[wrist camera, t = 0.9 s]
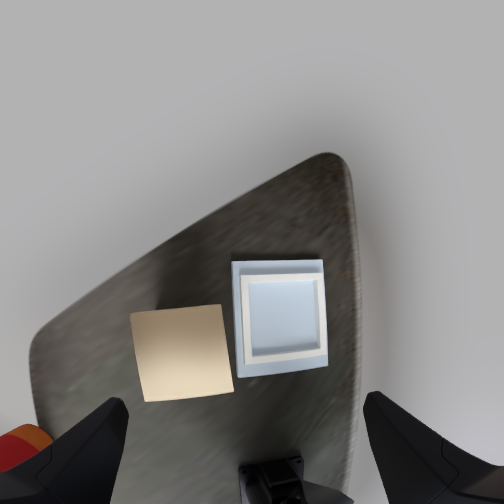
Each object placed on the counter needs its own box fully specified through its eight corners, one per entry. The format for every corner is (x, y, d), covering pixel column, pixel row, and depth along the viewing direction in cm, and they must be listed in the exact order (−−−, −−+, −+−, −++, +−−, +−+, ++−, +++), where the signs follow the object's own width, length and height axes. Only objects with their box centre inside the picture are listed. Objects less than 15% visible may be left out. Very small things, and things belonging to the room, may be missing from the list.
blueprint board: (324, 364, 25) (332, 367, 24) (236, 375, 23) (240, 380, 22) (318, 261, 27) (326, 258, 25) (231, 262, 25) (234, 259, 23)
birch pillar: (213, 355, 23) (234, 391, 13) (162, 360, 22) (145, 401, 12) (206, 305, 24) (220, 304, 13) (155, 310, 23) (129, 313, 12)
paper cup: (44, 482, 16) (-5, 548, 2) (0, 427, 16) (-71, 470, 2) (85, 464, 18) (36, 547, 4) (35, 403, 18) (-48, 454, 5)
